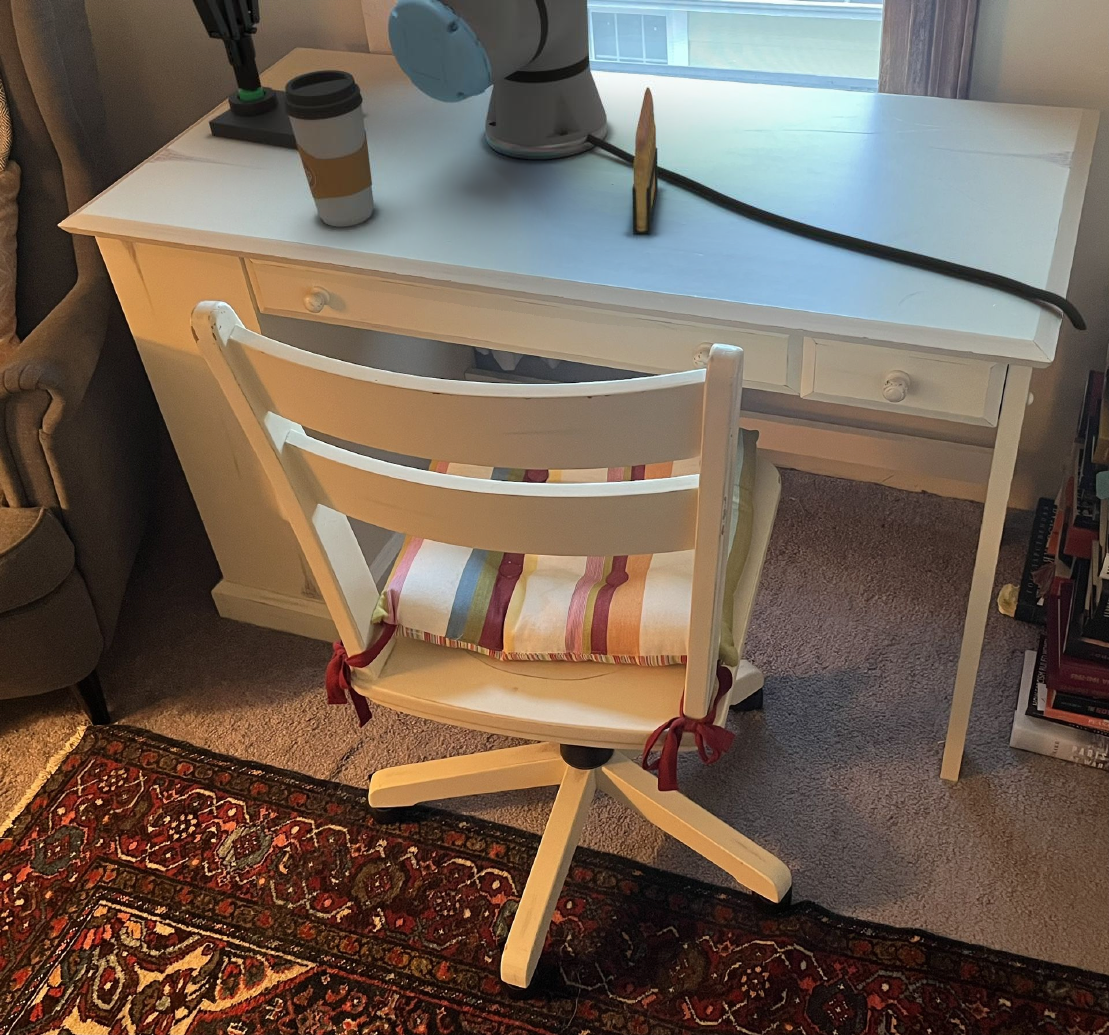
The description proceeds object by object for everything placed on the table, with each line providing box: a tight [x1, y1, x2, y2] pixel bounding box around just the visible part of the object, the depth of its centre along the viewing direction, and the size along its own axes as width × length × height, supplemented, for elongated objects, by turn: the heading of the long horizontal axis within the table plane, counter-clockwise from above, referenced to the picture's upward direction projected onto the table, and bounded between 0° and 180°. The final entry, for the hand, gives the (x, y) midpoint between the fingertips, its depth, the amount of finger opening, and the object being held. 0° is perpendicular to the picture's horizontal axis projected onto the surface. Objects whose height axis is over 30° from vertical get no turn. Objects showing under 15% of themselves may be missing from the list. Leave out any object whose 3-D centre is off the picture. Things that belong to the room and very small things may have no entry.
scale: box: [208, 85, 298, 150], centre depth 144 cm, size 16×12×4 cm
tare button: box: [237, 87, 264, 101], centre depth 145 cm, size 3×3×2 cm
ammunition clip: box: [631, 87, 659, 235], centre depth 116 cm, size 11×2×12 cm, turn 172°
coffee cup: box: [284, 69, 375, 228], centre depth 120 cm, size 8×8×15 cm
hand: (249, 87), depth 144 cm, fingers closed
